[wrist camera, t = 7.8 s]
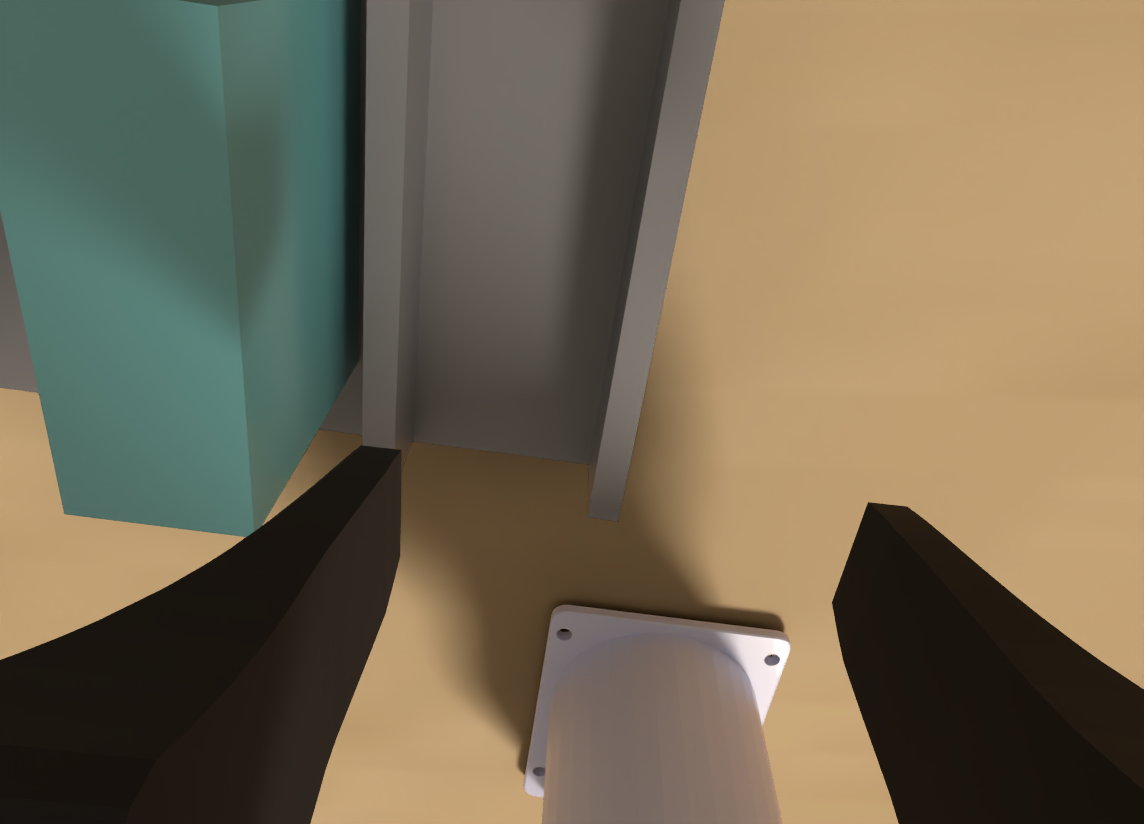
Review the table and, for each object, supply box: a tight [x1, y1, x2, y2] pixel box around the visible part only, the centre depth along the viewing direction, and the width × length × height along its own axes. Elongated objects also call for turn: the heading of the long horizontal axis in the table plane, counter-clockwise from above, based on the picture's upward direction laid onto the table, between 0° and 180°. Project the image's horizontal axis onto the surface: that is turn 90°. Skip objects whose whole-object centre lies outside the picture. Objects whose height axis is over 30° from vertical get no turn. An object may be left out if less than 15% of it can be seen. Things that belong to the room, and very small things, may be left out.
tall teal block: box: [0, 0, 361, 537], centre depth 16 cm, size 9×4×8 cm, turn 172°
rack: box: [0, 0, 725, 522], centre depth 19 cm, size 14×19×4 cm
